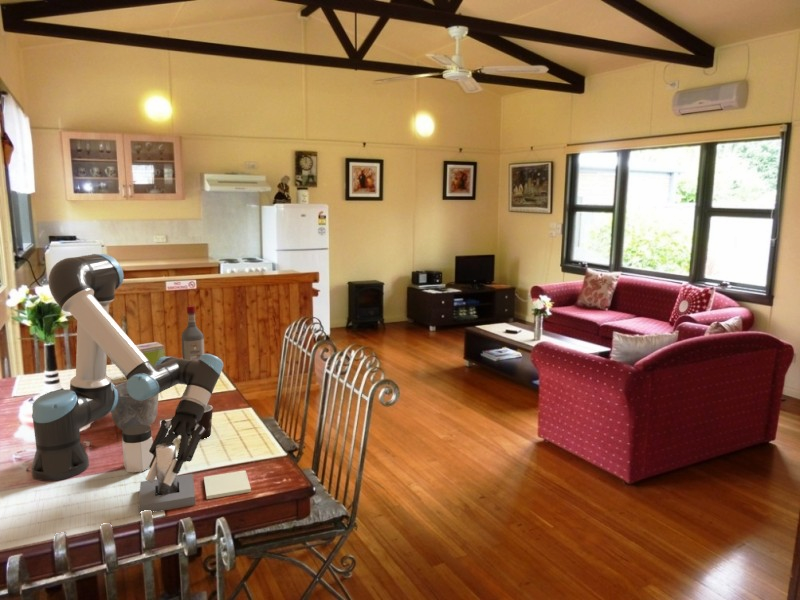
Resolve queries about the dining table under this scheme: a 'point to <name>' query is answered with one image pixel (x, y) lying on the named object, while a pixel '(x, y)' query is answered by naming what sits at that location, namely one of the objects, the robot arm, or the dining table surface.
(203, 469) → the dining table surface
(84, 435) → the dining table surface
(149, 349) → the tea box
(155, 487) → the grey square base
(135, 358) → the robot arm
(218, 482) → the cream square tile
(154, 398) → the grey tapered pot
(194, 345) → the liquor
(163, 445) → the steel peg
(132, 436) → the jar
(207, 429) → the coffee mug
